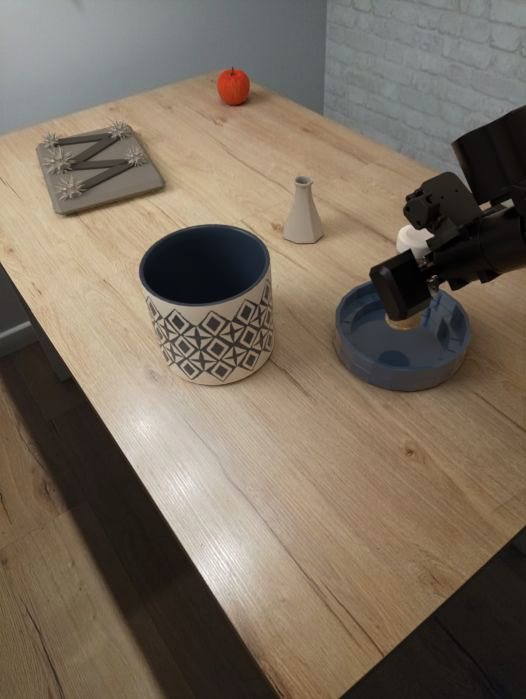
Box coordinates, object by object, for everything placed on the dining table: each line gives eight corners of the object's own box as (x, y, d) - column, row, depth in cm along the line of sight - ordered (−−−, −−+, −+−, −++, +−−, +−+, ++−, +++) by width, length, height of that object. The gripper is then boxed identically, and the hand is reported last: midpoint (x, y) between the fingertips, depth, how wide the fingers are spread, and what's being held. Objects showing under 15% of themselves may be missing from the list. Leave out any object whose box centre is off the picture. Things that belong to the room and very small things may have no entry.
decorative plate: (169, 191, 101) (162, 156, 95) (58, 221, 95) (44, 186, 90) (131, 130, 120) (123, 99, 114) (37, 153, 114) (24, 121, 109)
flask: (328, 223, 90) (331, 170, 83) (318, 248, 86) (319, 194, 78) (289, 218, 92) (288, 165, 85) (276, 241, 88) (274, 188, 80)
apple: (231, 93, 131) (228, 59, 125) (257, 99, 128) (255, 64, 122) (212, 104, 127) (207, 70, 121) (238, 111, 124) (234, 76, 118)
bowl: (490, 359, 68) (500, 335, 64) (385, 414, 63) (390, 391, 59) (405, 286, 78) (410, 262, 75) (309, 329, 73) (310, 305, 70)
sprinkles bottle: (378, 324, 67) (391, 237, 57) (394, 304, 69) (408, 217, 59) (412, 338, 65) (430, 250, 55) (426, 316, 67) (447, 229, 57)
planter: (188, 406, 65) (166, 326, 55) (145, 330, 75) (120, 249, 64) (296, 357, 70) (295, 274, 59) (242, 291, 79) (233, 210, 69)
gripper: (533, 132, 51) (430, 189, 65) (394, 197, 44) (313, 244, 59) (576, 236, 52) (465, 269, 67) (446, 313, 46) (354, 331, 60)
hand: (402, 276), depth 63 cm, fingers closed on sprinkles bottle, 4 cm apart
